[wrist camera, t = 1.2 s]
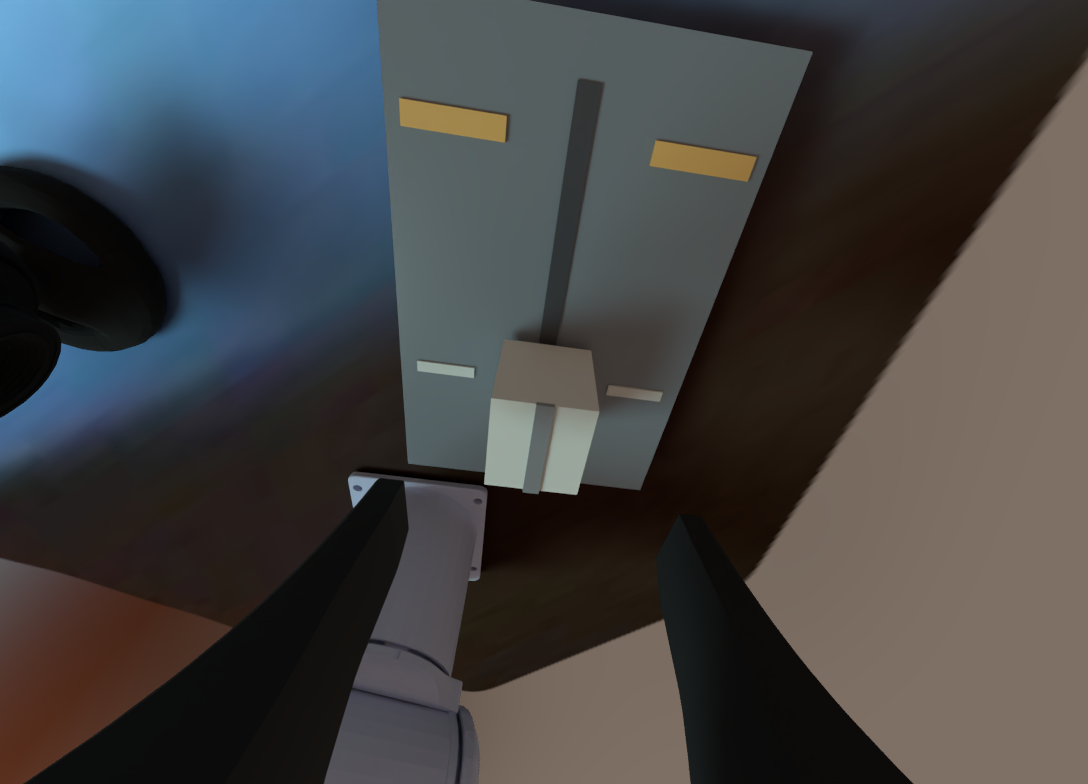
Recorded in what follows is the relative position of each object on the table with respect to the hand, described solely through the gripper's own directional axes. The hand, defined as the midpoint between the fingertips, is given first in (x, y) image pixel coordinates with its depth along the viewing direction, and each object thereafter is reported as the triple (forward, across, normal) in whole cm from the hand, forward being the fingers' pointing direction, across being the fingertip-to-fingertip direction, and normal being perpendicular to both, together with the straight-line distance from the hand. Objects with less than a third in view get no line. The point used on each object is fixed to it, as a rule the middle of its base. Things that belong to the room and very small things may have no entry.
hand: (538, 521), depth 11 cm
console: (+10, 0, -2) cm, 10 cm away
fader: (+7, 0, +1) cm, 8 cm away
